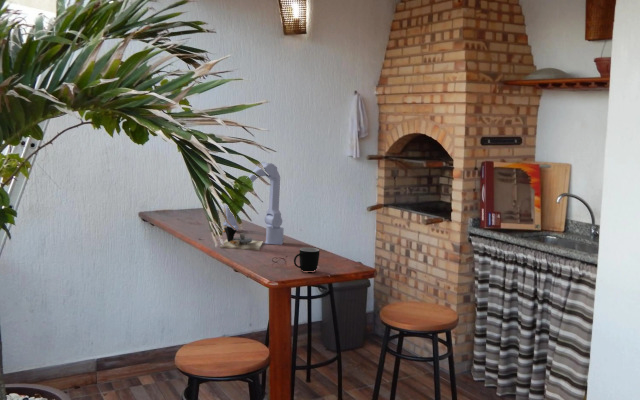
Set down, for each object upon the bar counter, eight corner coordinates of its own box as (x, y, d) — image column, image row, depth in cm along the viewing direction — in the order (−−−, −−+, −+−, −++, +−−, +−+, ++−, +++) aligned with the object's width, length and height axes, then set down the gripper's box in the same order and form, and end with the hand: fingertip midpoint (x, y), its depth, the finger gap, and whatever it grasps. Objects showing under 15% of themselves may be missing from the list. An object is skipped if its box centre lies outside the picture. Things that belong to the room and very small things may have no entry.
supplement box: (224, 232, 399) (225, 209, 397) (218, 231, 401) (219, 208, 400) (234, 230, 405) (235, 208, 403) (228, 229, 408) (229, 207, 406)
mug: (312, 268, 316) (313, 247, 314) (321, 273, 308) (323, 251, 307) (289, 270, 310) (290, 248, 309) (298, 274, 302) (299, 252, 301)
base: (263, 242, 372) (263, 231, 371) (258, 250, 352) (259, 238, 351) (226, 240, 372) (226, 229, 372) (219, 247, 353) (220, 236, 352)
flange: (239, 238, 369) (240, 236, 369) (255, 241, 364) (255, 238, 364) (224, 242, 356) (224, 239, 356) (240, 244, 352) (240, 242, 352)
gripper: (218, 213, 362) (217, 239, 364) (229, 218, 350) (228, 244, 352) (230, 213, 366) (229, 238, 367) (242, 217, 354) (241, 243, 355)
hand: (230, 241), depth 360 cm, fingers closed
